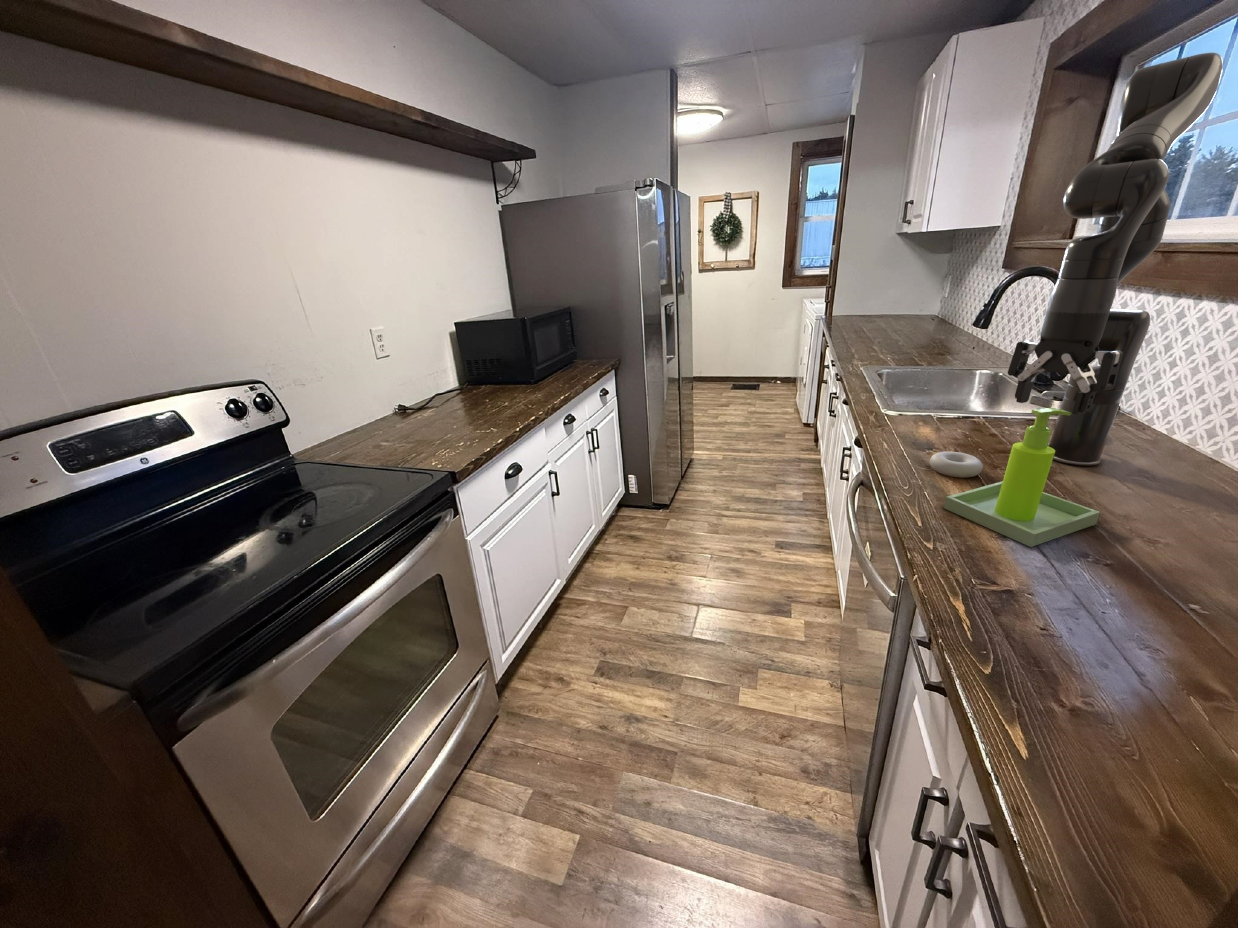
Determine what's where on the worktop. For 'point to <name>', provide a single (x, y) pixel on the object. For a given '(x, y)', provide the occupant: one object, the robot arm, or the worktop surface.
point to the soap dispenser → (1028, 470)
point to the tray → (1048, 523)
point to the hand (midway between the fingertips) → (1048, 407)
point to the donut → (956, 464)
